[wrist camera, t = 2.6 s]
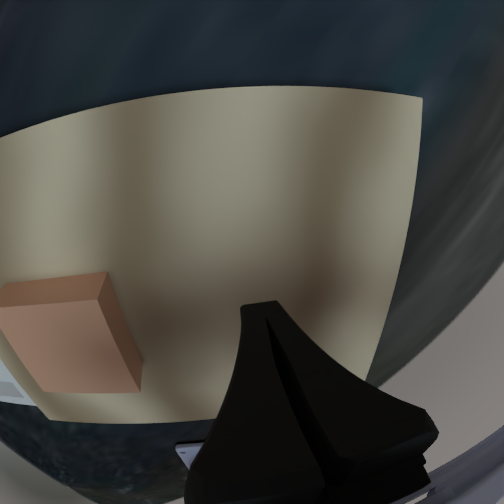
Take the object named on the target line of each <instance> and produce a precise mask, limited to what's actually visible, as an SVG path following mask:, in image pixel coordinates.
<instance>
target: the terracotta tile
mask: <svg viewBox="0 0 504 504" xmlns="http://www.w3.org/2000/svg"><path fill="white" fill-rule="evenodd" d="M0 329H1V330H2V332H3V334H4V335H5V337H6V338H7V340H8V342H9V343H10V345H11V346H12V348H13V349H14V351H15V352H16V354H17V355H18V357H19V358H20V360H21V361H22V363H23V364H24V366H25V367H26V368H27V370H28V371H29V373H30V374H31V375H32V377H33V378H34V379H35V381H36V382H37V383H38V385H39V386H40V387H41V389H42V390H43V391H44V392H59V393H140V391H141V379H142V368H143V363H142V361H141V359H140V356H139V354H138V352H137V349H136V347H135V345H134V342H133V340H132V337H131V335H130V332H129V330H128V327H127V325H126V322H125V320H124V317H123V314H122V312H121V309H120V306H119V304H118V301H117V298H116V295H115V292H114V289H113V286H112V284H111V281H110V278H109V274H108V271H107V272H99V273H91V274H82V275H74V276H66V277H57V278H49V279H41V280H32V281H24V282H16V283H7V284H5V285H4V286H3V288H2V289H1V291H0Z"/></svg>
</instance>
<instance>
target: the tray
mask: <svg viewBox="0 0 504 504" xmlns="http://www.w3.org/2000/svg"><path fill="white" fill-rule="evenodd" d="M0 401H3V402H10V403H17V404H25V405H34V406H37V405H36V404H35V403H34V402H33V401H32V399H31V398H30V397H29V396H28V395H27V393H26V392H25V391H24V390H23V389H22V387H21V386H20V385H19V384H18V382H17V381H16V380H15V378H14V377H13V376H12V374H11V373H10V372H9V370H8V369H7V368H6V366H5V365H4V364H3V362H2V361H1V359H0Z"/></svg>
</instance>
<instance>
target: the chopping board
mask: <svg viewBox="0 0 504 504" xmlns="http://www.w3.org/2000/svg"><path fill="white" fill-rule="evenodd" d="M421 120H422V98H419V97H413V96H407V95H401V94H394V93H386V92H378V91H370V90H360V89H348V88H334V87H314V86H254V87H233V88H219V89H207V90H197V91H188V92H180V93H172V94H165V95H159V96H152V97H146V98H141V99H135V100H130V101H125V102H120V103H115V104H110V105H106V106H101V107H97V108H93V109H89V110H85V111H81V112H77V113H74V114H70V115H67V116H63V117H60V118H56V119H53V120H50V121H47V122H43V123H40V124H37V125H34V126H31V127H28V128H26V129H23V130H20V131H17V132H15V133H12V134H9V135H7V136H4V137H2V138H0V291H1V289H2V288H3V286H4V285H5V284H7V283H16V282H24V281H32V280H41V279H49V278H57V277H66V276H74V275H82V274H91V273H99V272H107V271H108V274H109V278H110V281H111V284H112V286H113V289H114V292H115V295H116V298H117V301H118V304H119V306H120V309H121V312H122V314H123V317H124V320H125V322H126V325H127V327H128V330H129V332H130V335H131V337H132V340H133V342H134V345H135V347H136V349H137V352H138V354H139V356H140V359H141V361H142V363H143V368H142V379H141V391H140V393H59V392H44V391H43V390H42V389H41V387H40V386H39V385H38V383H37V382H36V381H35V379H34V378H33V377H32V375H31V374H30V373H29V371H28V370H27V368H26V367H25V366H24V364H23V363H22V361H21V360H20V358H19V357H18V355H17V354H16V352H15V351H14V349H13V348H12V346H11V345H10V343H9V342H8V340H7V338H6V337H5V335H4V334H3V332H2V330H1V329H0V359H1V361H2V362H3V364H4V365H5V366H6V368H7V369H8V370H9V372H10V373H11V374H12V376H13V377H14V378H15V380H16V381H17V382H18V384H19V385H20V386H21V387H22V389H23V390H24V391H25V392H26V393H27V395H28V396H29V397H30V398H31V399H32V401H33V402H34V403H35V404H36V405H37V406H38V408H39V409H40V410H41V411H42V412H43V413H44V414H45V415H46V416H47V417H48V419H49V420H59V421H70V422H86V423H121V424H129V423H165V422H181V421H194V420H205V419H214V418H216V417H217V415H218V413H219V410H220V408H221V405H222V403H223V400H224V398H225V395H226V392H227V389H228V386H229V383H230V380H231V377H232V373H233V370H234V366H235V361H236V357H237V352H238V347H239V340H240V333H241V316H240V307H241V306H242V305H245V304H252V303H260V302H266V301H273V300H277V301H278V302H279V303H280V304H281V305H282V307H283V308H284V309H285V311H286V312H287V313H288V314H289V315H290V317H291V318H292V319H293V320H294V321H295V322H296V323H297V325H298V326H299V327H300V328H301V329H302V330H303V331H304V332H305V333H306V334H307V335H308V336H309V337H310V338H311V339H312V340H313V341H314V342H315V343H316V344H317V345H318V346H319V347H320V348H321V349H323V350H324V351H325V352H326V353H327V354H328V355H329V356H331V357H332V358H333V359H334V360H335V361H337V362H338V363H339V364H341V365H342V366H343V367H345V368H346V369H347V370H349V371H350V372H352V373H353V374H355V375H356V376H357V377H359V378H361V379H362V380H364V381H365V379H366V376H367V374H368V371H369V368H370V365H371V363H372V360H373V357H374V354H375V351H376V348H377V345H378V342H379V339H380V336H381V333H382V329H383V326H384V323H385V320H386V316H387V313H388V309H389V306H390V302H391V299H392V295H393V291H394V287H395V283H396V280H397V275H398V271H399V267H400V263H401V259H402V254H403V249H404V245H405V240H406V235H407V230H408V224H409V219H410V213H411V207H412V201H413V195H414V188H415V181H416V173H417V165H418V156H419V146H420V134H421Z"/></svg>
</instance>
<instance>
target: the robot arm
mask: <svg viewBox="0 0 504 504" xmlns="http://www.w3.org/2000/svg"><path fill="white" fill-rule="evenodd" d="M240 316H241V333H240V340H239V347H238V352H237V357H236V361H235V366H234V370H233V373H232V377H231V380H230V383H229V386H228V389H227V392H226V395H225V398H224V400H223V403H222V405H221V408H220V410H219V413H218V415H217V417H216V419H215V421H214V423H213V425H212V427H211V430H210V432H209V434H208V436H207V438H206V439H205V441H204V442H203V443H191V444H178V445H176V446H175V448H176V452H177V453H178V455H179V456H180V458H181V459H182V461H183V462H184V464H185V465H186V466H187V468H188V469H189V473H188V476H187V480H186V484H185V490H184V503H185V504H405V503H407V502H409V501H411V500H413V499H415V498H417V497H419V496H421V495H423V494H425V493H426V492H428V491H429V492H428V494H427V497H426V498H424V499H422V500H421V501H419V502H417V503H415V504H497V503H498V502H499V501H500V500H501V499H502V498H503V497H504V425H503V426H502V427H501V428H499V429H498V430H497V431H495V432H494V433H493V434H491V435H490V436H488V437H487V438H486V439H484V440H483V441H481V442H480V443H478V444H477V445H475V446H474V447H472V448H471V449H469V450H468V451H466V452H464V453H463V454H461V455H459V456H458V457H456V458H455V459H453V460H451V461H449V462H448V463H446V464H444V465H442V466H440V467H439V468H437V469H435V470H433V471H431V472H429V473H427V472H426V470H425V468H424V466H423V465H424V464H425V463H426V460H425V458H424V456H423V453H424V452H425V451H426V450H427V449H428V448H429V447H430V446H431V445H432V444H433V443H434V441H435V440H436V439H437V437H438V434H439V431H438V430H437V428H436V426H435V424H434V422H433V420H432V419H431V417H430V416H429V415H428V413H427V412H426V410H425V409H423V408H420V407H417V406H415V405H412V404H410V403H407V402H404V401H402V400H399V399H397V398H395V397H393V396H391V395H389V394H387V393H385V392H383V391H381V390H379V389H378V388H376V387H374V386H372V385H371V384H369V383H367V382H366V381H364V380H362V379H361V378H359V377H357V376H356V375H355V374H353V373H352V372H350V371H349V370H347V369H346V368H345V367H343V366H342V365H341V364H339V363H338V362H337V361H335V360H334V359H333V358H332V357H331V356H329V355H328V354H327V353H326V352H325V351H324V350H323V349H321V348H320V347H319V346H318V345H317V344H316V343H315V342H314V341H313V340H312V339H311V338H310V337H309V336H308V335H307V334H306V333H305V332H304V331H303V330H302V329H301V328H300V327H299V326H298V325H297V323H296V322H295V321H294V320H293V319H292V318H291V317H290V315H289V314H288V313H287V312H286V311H285V309H284V308H283V307H282V305H281V304H280V303H279V302H278V301H277V300H273V301H266V302H260V303H252V304H245V305H242V306H241V307H240Z"/></svg>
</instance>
